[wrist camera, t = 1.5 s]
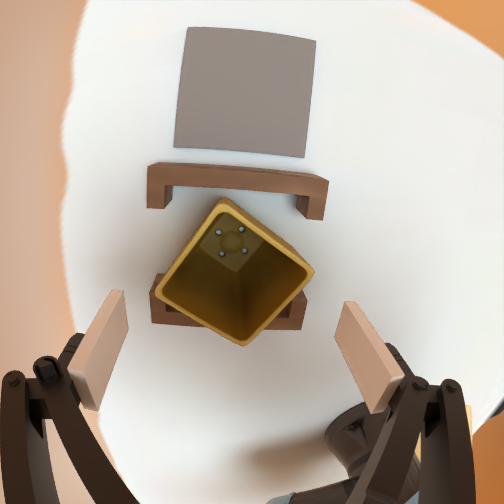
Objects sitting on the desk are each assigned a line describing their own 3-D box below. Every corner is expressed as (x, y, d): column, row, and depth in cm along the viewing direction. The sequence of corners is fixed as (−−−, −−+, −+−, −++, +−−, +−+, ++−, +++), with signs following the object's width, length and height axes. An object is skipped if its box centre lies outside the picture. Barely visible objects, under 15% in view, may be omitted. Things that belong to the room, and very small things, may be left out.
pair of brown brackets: (293, 309, 33) (300, 330, 29) (158, 302, 31) (151, 323, 28) (315, 174, 28) (329, 180, 24) (158, 162, 26) (147, 166, 22)
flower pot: (239, 295, 32) (244, 350, 24) (170, 250, 29) (151, 295, 21) (292, 233, 30) (318, 272, 22) (222, 180, 27) (221, 199, 19)
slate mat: (302, 157, 27) (304, 158, 26) (174, 146, 26) (173, 147, 25) (314, 42, 23) (316, 40, 22) (188, 29, 21) (187, 27, 21)
